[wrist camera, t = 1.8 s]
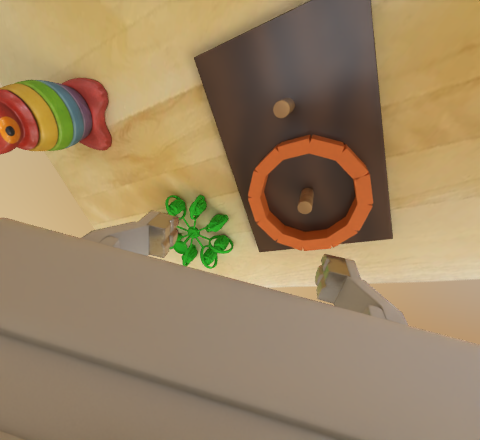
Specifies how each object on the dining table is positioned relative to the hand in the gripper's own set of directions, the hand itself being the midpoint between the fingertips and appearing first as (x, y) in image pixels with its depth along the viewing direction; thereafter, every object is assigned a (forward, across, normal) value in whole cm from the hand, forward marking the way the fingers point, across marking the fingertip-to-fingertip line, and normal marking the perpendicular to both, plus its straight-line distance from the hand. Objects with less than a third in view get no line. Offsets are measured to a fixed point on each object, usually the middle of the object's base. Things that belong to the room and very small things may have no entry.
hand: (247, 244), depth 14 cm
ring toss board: (+24, -3, -1) cm, 25 cm away
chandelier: (+27, +10, +17) cm, 33 cm away
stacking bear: (+29, +32, +1) cm, 43 cm away
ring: (+23, -6, +4) cm, 24 cm away
